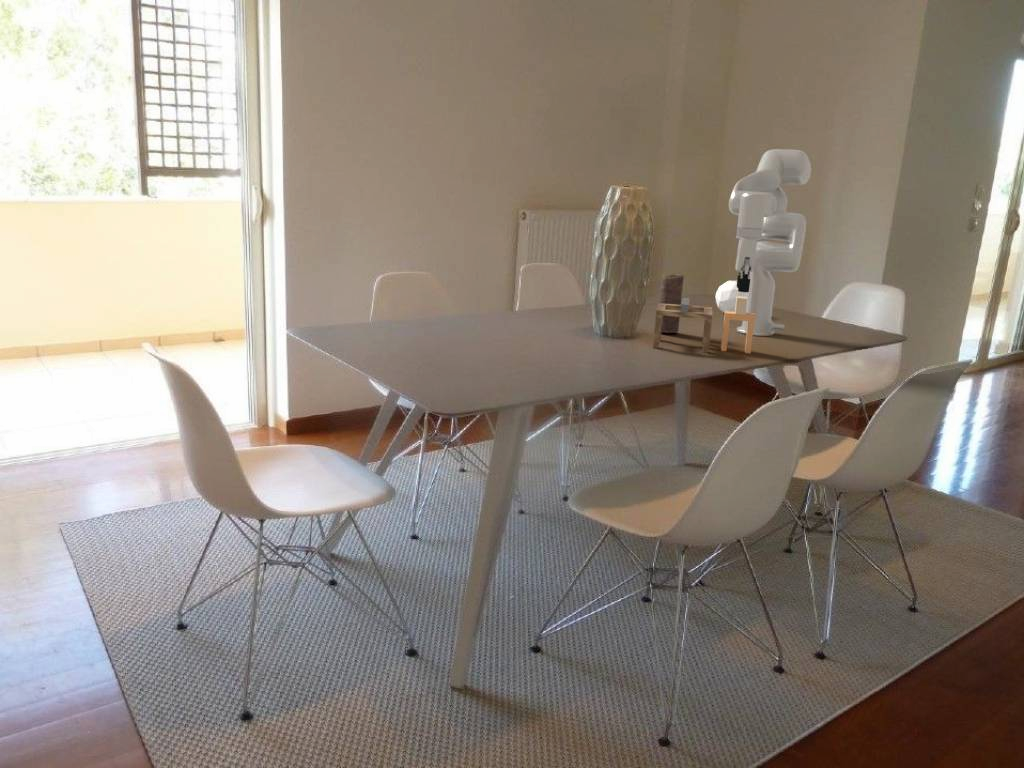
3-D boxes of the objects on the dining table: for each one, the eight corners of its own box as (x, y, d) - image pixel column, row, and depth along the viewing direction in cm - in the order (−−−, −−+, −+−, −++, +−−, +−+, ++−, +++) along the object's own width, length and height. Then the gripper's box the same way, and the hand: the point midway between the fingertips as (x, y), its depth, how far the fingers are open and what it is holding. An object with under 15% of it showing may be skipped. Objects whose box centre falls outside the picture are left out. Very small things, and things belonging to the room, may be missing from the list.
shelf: (707, 343, 284) (711, 307, 280) (708, 353, 270) (712, 314, 267) (655, 339, 287) (658, 303, 284) (652, 348, 273) (656, 310, 270)
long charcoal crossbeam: (688, 305, 282) (689, 298, 281) (688, 312, 269) (689, 305, 268) (681, 304, 282) (681, 297, 282) (680, 312, 269) (681, 304, 268)
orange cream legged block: (749, 350, 277) (756, 297, 272) (750, 353, 272) (757, 299, 268) (720, 348, 278) (726, 295, 274) (721, 351, 274) (727, 297, 270)
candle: (677, 336, 293) (683, 276, 288) (655, 334, 294) (661, 275, 289) (678, 332, 300) (684, 274, 295) (656, 330, 302) (662, 272, 297)
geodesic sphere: (739, 295, 351) (727, 268, 344) (765, 301, 340) (752, 273, 333) (716, 318, 348) (703, 291, 341) (740, 324, 336) (728, 297, 329)
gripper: (735, 231, 275) (729, 285, 279) (737, 234, 258) (731, 292, 262) (760, 233, 273) (753, 287, 278) (764, 236, 257) (756, 294, 261)
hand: (742, 290), depth 270 cm, fingers open, 9 cm apart
